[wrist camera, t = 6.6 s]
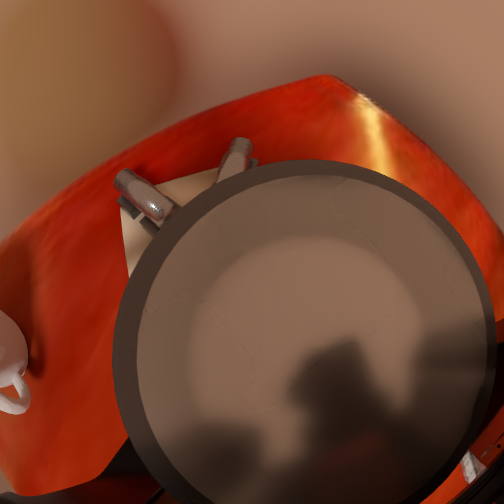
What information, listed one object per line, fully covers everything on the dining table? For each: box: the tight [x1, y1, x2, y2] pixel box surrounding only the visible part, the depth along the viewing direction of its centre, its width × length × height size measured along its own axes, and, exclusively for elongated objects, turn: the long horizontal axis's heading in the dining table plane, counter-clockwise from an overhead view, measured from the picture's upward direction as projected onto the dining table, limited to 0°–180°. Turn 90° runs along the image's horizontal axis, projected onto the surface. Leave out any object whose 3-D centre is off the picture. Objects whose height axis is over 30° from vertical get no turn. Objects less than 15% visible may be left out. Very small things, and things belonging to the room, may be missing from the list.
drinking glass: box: [112, 159, 497, 504], centre depth 8 cm, size 5×5×13 cm
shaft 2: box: [212, 137, 259, 186], centre depth 25 cm, size 7×4×4 cm, turn 168°
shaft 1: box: [114, 168, 182, 238], centre depth 23 cm, size 7×4×4 cm, turn 52°
